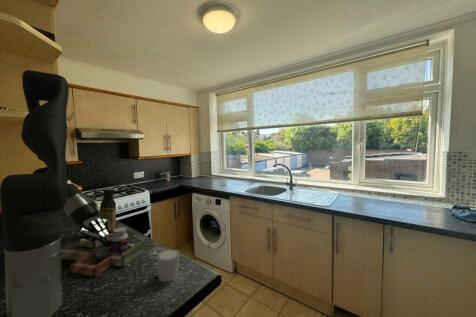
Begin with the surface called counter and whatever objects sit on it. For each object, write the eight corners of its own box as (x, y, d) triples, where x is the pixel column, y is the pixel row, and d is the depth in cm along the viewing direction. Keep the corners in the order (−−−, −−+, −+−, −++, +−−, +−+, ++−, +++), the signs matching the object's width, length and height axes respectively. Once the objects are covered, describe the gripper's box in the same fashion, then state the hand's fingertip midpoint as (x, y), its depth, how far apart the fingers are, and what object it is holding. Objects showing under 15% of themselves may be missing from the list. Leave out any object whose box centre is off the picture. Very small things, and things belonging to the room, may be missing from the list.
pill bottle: (123, 259, 70) (123, 232, 70) (107, 259, 70) (107, 232, 70) (130, 251, 76) (130, 226, 75) (116, 251, 76) (116, 226, 75)
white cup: (171, 266, 68) (172, 246, 67) (184, 275, 63) (184, 254, 63) (152, 276, 62) (152, 254, 62) (164, 286, 58) (164, 263, 57)
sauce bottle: (96, 235, 88) (96, 190, 87) (102, 229, 94) (101, 187, 93) (113, 234, 90) (113, 190, 88) (117, 228, 96) (117, 187, 94)
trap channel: (38, 268, 64) (37, 256, 64) (96, 237, 86) (95, 228, 86) (110, 278, 60) (110, 266, 60) (152, 243, 82) (152, 234, 82)
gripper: (69, 208, 66) (102, 248, 66) (101, 198, 79) (129, 231, 79) (55, 222, 67) (88, 261, 67) (89, 209, 80) (117, 242, 80)
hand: (110, 245), depth 73 cm, fingers closed
